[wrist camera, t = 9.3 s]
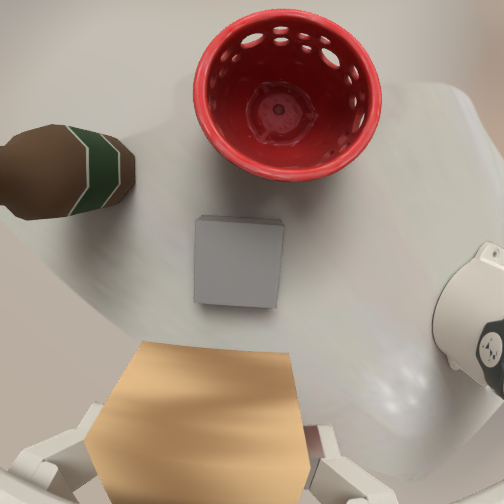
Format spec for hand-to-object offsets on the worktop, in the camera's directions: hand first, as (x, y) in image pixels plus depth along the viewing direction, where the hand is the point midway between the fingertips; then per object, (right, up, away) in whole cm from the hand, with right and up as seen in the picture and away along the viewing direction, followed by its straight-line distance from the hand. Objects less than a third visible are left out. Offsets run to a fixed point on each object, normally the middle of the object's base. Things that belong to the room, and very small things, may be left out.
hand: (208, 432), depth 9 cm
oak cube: (0, 0, +2) cm, 2 cm away
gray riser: (0, +6, +24) cm, 25 cm away
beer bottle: (-14, +15, +22) cm, 30 cm away
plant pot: (+4, +20, +21) cm, 29 cm away
